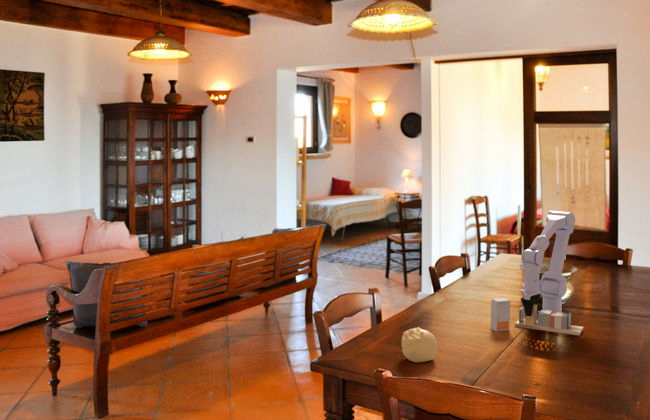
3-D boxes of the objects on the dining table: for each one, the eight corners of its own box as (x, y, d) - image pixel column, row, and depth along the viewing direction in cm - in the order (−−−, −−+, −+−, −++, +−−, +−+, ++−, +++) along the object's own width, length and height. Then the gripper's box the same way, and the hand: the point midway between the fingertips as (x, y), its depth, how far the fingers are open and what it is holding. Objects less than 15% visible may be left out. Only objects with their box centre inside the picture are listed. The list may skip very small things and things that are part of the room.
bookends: (522, 319, 254) (522, 306, 253) (570, 326, 245) (571, 312, 244) (519, 322, 250) (519, 309, 249) (568, 329, 240) (568, 315, 240)
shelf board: (519, 321, 256) (519, 318, 256) (583, 329, 244) (583, 326, 244) (514, 326, 249) (515, 323, 249) (579, 335, 237) (579, 332, 237)
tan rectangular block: (527, 320, 253) (528, 303, 252) (536, 321, 251) (537, 304, 250) (524, 323, 249) (525, 306, 248) (534, 324, 247) (534, 307, 246)
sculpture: (398, 354, 219) (398, 323, 217) (432, 353, 219) (432, 323, 218) (404, 366, 207) (404, 334, 206) (440, 364, 208) (441, 333, 207)
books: (540, 322, 250) (540, 309, 250) (568, 326, 245) (569, 312, 244) (537, 325, 246) (537, 312, 245) (566, 329, 241) (567, 316, 240)
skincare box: (496, 332, 242) (496, 301, 241) (490, 328, 246) (490, 298, 245) (510, 330, 244) (510, 300, 242) (504, 327, 248) (504, 297, 247)
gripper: (525, 275, 256) (524, 307, 258) (516, 282, 244) (515, 316, 245) (543, 276, 252) (542, 310, 254) (535, 284, 240) (534, 319, 242)
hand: (530, 313), depth 249 cm, fingers open, 7 cm apart
